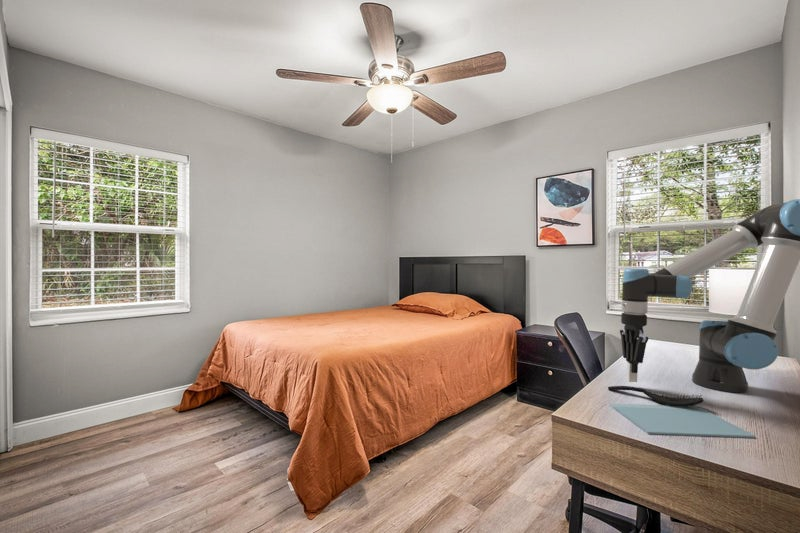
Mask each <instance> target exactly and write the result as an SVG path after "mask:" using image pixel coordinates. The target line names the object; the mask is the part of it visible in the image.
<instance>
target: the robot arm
mask: <svg viewBox="0 0 800 533" xmlns="http://www.w3.org/2000/svg"><path fill="white" fill-rule="evenodd" d="M763 244H764V247H763V250H762V252H761V255H760V257H759V260H758V262H757V264H756V267H755V269H754V272H753V275H752V277H751V279H750V282H749V284H748V287H747V289H746V292H745V294H744V295H743V296H744V297H743V299H742V302H741V304H740V307H739V309H738V311H737V314H736V315H735V316H732V317H729V318H728V320H711V319H710V320H708V319H707V320H706V319H705V320H702V321H701V322H700V325H699V330H698V331H699V342H698V343H699V347H698V350H699V351H698V362H697V364H696V366H695V369H694V372H693V373H692V375H691V376H692V379H691V382H693V383H694V384H696V385H699V386H701V387H704V388H707V389H711V390H717V391H721V392H726V393H728V392H729V393H740V394H741V393H748V392H749V383H748V380H747V377H746V374H745V372H744V369H746V370H761V369H764V368H768V367H770V366H771V365H772V364H774V362H775V361H776V359H777V358H778V355H779V349H778V348H779V347H778V346H777V344H776V343H775V339H776V337H777V333H778V332H777V330H776V329H775V328H774V323H775V321H776V318H777V317H778V316H777V315H778V313H779V311H780V308H781V306H782V304H783V301H784V299H785V298H786V297H785V296H786V294H787V292H788V290H789V287H790V285H791V282H792V281H793V278H794V275H795V273H796V270H797V267H798V266H799V263H800V198H798V199H792V200H789V201H785V202H782V203H777V204H773V205H769V206H766V207H764V208H762V209H760V210H758V211H757V212H755V213H753V214H752V215H749V216H748V217H747V218H745V219H743V220H741V221H740V222H738V223H735V225H733V226H732V230H730V231H728V232H726V233H725V234H723V235H721V236H719V237H717V238H715V239H714V240H712V241H710V242H708V243H706V244H705V245H702V246H701V247H698V248H697V249H695V250H694V251H692V252H690V253H688V254H686V255H684V256H682V257H681V258H679V259H677V260H676V261H674V262H672V263H670V264H668V265H666V266H664V267H663V268H661V269H659V270H657V271H655V272H654V273H653V272H652V273H649V271H650V270H649V269H647V268H626V269H624V270H623V274H622V280H621V281H622V289H621V291H622V296H621V303H620V304H621V305H620V306H621V311H622V313H621V314H620V316H621V320H620V322H621V323H622V324H623V325H624V326H623V327H624V328H623V329H620V330H619V335H620V336H621V337H620V339H621V340H620V341H621V348H622V357H623V359H625V361H626V381H627V382H631V383H638V373H639V371H638V369H639V364H643V363H644V362H643V361H644V357H645V352H646V347H647V343H648V341H649V337H648V336H645V334H644V327H646V326H647V325H648V315H647V313H648V309H649V308H648V305H649V304H648V300H649V299H648V298H649V297H651V298H653V297H654V298H655V297H656V298H669V299H670V298H673V299H687V298H689V297H690V296H691V295H692V291H693V284H692V280H691V279H692V278H693V277H696V276H698V275H700V274H702V273H703V272H705V271H707V270H709V269H711V268H713V267H715V266H716V265H718V264H720V263H722V262H724V261H726V260H727V259H730V258H732V257H734V256H735V255H737V254H740V253H741V252H743V251H745V250H746V249H755V248H758V247H759V246H761V245H763Z"/></svg>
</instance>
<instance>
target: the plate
mask: <svg viewBox="0 0 800 533" xmlns="http://www.w3.org/2000/svg"><path fill="white" fill-rule="evenodd" d="M606 404H607V406H609V407H611V408H612V409H614V410H615V411H616V412H618V413H619V414H620V415H622V416H623V417H625V419H627V420H628V421H630V422H631V423H633V424H634V425H635V426H636V427H638V428H639V429H640V430H642V431H644V432H645V433H646V434H647V435H666V436H667V435H668V436H692V437H693V436H695V437H723V438H747V439H748V438H749V439H751V438H752V439H756V435H754V434H752V433H750V432H748V431H746V430H745V429H743V428H741V427H739V426H737V425H735V424H733V423H731V422H729V421H727V420H725V419H724V418H721V417H719V415H716V414H714V413H712V412H709V411H708V410H706V409H703V408H700V407H698V406H696V405H692V406H685V407H682V406H670V405H665V404H642V403H641V404H640V403H614V402H612V403H607V402H606Z"/></svg>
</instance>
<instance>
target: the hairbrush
mask: <svg viewBox="0 0 800 533" xmlns="http://www.w3.org/2000/svg"><path fill="white" fill-rule="evenodd" d="M608 389H609V390H608ZM607 390H608V391H632V392H639V393H643V394H644V395H646V396H647V397H648V398H649V399H652V400H653V401H655V402H657V403H659V404H661V405H670V406H682V407H685V406H696V405H699V404H702V403H704V398H703V397H702V394H697V397H695V395H694V394H691V395H688V394H687V395H686V396H685V394H684V395H679V394H674V395H673V393H672V394H671V393H670V395H669V394H667V393H664V394H658V392H659V391H658V390H657V391H656V393H655V392H654V391H653V389H652V390H651V389H650V390H647V389H645V388H641V387H636V386H629V385H613V386H608V387H607ZM652 391H653V392H652ZM699 395H700V396H699Z"/></svg>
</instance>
